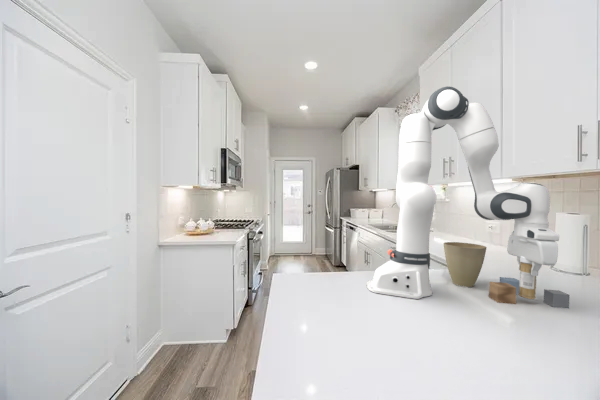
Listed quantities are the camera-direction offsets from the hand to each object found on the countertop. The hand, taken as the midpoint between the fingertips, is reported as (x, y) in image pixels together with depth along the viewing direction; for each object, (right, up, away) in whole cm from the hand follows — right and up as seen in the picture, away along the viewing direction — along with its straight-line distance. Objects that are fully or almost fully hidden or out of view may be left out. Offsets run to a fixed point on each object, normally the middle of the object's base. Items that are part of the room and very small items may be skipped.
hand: (528, 273), depth 94 cm
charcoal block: (+8, -10, -2) cm, 13 cm away
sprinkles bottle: (0, -8, 0) cm, 8 cm away
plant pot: (-11, -10, +19) cm, 24 cm away
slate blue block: (+2, -10, +11) cm, 15 cm away
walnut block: (-8, -10, +1) cm, 12 cm away
